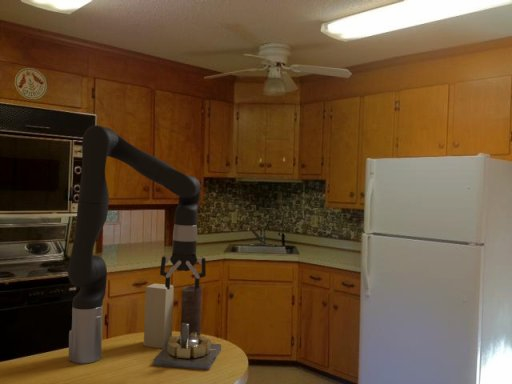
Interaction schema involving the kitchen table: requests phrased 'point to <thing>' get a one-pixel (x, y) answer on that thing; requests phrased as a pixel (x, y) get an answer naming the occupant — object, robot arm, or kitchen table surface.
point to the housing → (192, 363)
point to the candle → (191, 308)
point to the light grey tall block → (158, 315)
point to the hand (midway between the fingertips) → (182, 289)
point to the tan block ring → (184, 348)
